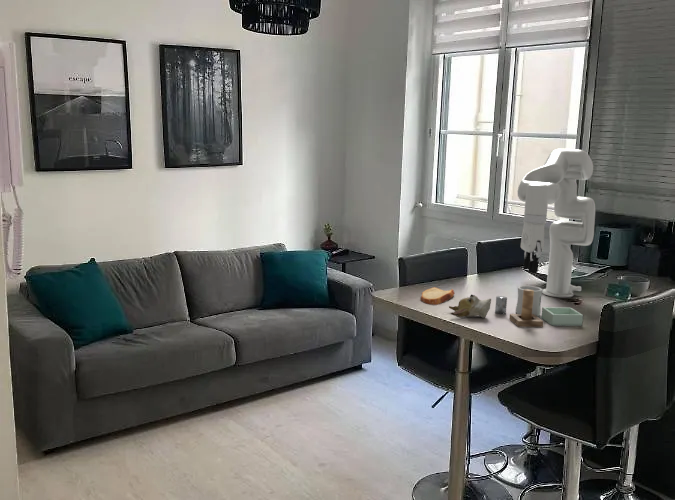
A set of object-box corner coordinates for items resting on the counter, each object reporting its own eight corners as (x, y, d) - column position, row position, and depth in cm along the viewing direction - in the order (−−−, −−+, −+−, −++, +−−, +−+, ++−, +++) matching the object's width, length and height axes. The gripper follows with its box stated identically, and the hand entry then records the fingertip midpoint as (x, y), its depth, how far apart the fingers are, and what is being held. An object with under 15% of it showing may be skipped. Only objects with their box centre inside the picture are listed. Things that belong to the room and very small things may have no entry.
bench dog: (503, 311, 251) (505, 296, 250) (507, 314, 247) (508, 298, 246) (493, 311, 251) (494, 296, 249) (496, 314, 247) (498, 298, 246)
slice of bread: (428, 306, 257) (429, 296, 256) (408, 294, 273) (409, 286, 273) (469, 303, 263) (469, 294, 262) (447, 292, 279) (447, 284, 279)
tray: (569, 317, 245) (570, 307, 244) (581, 325, 235) (583, 315, 235) (541, 317, 244) (542, 307, 243) (552, 325, 234) (553, 314, 234)
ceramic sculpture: (493, 297, 235) (450, 298, 237) (493, 321, 237) (450, 321, 238) (489, 291, 246) (448, 291, 247) (489, 313, 247) (448, 313, 248)
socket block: (533, 319, 241) (533, 314, 241) (542, 326, 232) (543, 321, 232) (509, 319, 240) (509, 314, 240) (518, 326, 232) (518, 321, 231)
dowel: (528, 321, 238) (531, 289, 236) (532, 324, 235) (535, 291, 233) (519, 321, 238) (521, 289, 236) (522, 324, 235) (525, 291, 232)
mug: (543, 317, 244) (545, 291, 242) (518, 316, 244) (520, 290, 242) (534, 309, 256) (536, 284, 254) (511, 308, 256) (513, 283, 255)
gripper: (516, 216, 238) (512, 265, 241) (533, 222, 221) (528, 275, 225) (536, 216, 238) (531, 266, 242) (555, 223, 222) (550, 276, 225)
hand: (530, 270), depth 233 cm, fingers open, 3 cm apart
